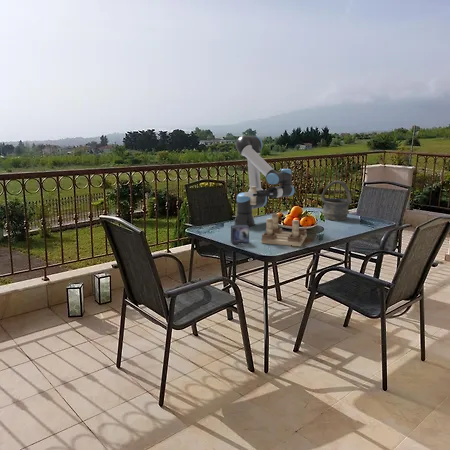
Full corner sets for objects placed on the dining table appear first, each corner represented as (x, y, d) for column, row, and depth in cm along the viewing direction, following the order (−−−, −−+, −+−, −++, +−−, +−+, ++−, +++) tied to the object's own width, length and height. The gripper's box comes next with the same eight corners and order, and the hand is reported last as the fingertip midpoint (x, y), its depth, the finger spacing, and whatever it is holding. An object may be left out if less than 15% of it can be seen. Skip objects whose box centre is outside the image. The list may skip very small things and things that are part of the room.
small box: (232, 244, 244) (232, 227, 242) (230, 241, 250) (230, 225, 248) (249, 243, 246) (249, 226, 244) (246, 240, 252) (246, 224, 250)
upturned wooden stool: (270, 234, 269) (270, 212, 266) (306, 236, 261) (307, 215, 258) (261, 242, 247) (261, 219, 244) (300, 246, 239) (301, 222, 236)
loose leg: (251, 203, 274) (251, 186, 272) (256, 204, 273) (257, 186, 270) (249, 204, 271) (249, 187, 268) (255, 205, 269) (255, 187, 267)
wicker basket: (338, 222, 304) (340, 182, 297) (314, 217, 322) (316, 180, 316) (356, 218, 317) (358, 180, 310) (332, 214, 335) (334, 178, 328)
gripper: (282, 199, 273) (253, 202, 261) (267, 196, 287) (239, 198, 275) (282, 188, 271) (254, 190, 260) (267, 185, 285) (239, 187, 274)
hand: (246, 194), depth 268 cm, fingers closed on loose leg, 4 cm apart
